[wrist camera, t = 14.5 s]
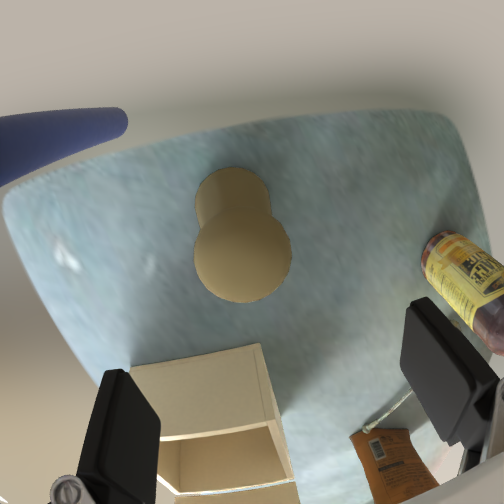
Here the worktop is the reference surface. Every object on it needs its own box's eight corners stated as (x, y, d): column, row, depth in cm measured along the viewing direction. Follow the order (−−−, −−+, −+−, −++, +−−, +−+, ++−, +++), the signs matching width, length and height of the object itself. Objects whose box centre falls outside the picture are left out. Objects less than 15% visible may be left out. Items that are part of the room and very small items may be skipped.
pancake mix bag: (360, 419, 42) (420, 574, 16) (427, 423, 47) (483, 534, 22) (334, 442, 44) (381, 587, 19) (403, 443, 49) (452, 552, 24)
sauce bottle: (465, 227, 29) (598, 331, 11) (451, 277, 32) (561, 391, 14) (421, 227, 28) (569, 353, 10) (408, 281, 31) (523, 420, 13)
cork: (238, 151, 24) (257, 183, 14) (284, 208, 26) (328, 274, 16) (179, 200, 25) (157, 265, 15) (227, 252, 27) (237, 338, 17)
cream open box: (130, 366, 32) (114, 439, 23) (259, 342, 32) (275, 419, 23) (177, 434, 38) (175, 494, 29) (280, 417, 38) (294, 478, 30)
